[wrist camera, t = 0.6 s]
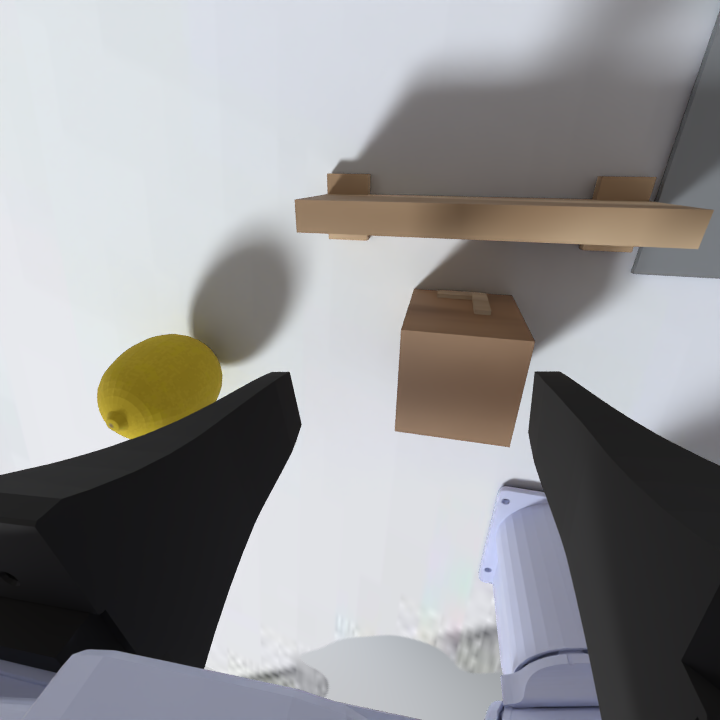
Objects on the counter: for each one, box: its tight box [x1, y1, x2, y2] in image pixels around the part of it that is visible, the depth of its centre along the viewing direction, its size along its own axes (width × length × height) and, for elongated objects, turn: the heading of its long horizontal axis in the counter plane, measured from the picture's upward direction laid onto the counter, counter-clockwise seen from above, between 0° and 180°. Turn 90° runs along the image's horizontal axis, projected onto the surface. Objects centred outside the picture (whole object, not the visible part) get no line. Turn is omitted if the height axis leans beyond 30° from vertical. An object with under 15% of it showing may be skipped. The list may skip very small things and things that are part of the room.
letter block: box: [395, 289, 535, 447], centre depth 18 cm, size 5×5×6 cm
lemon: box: [97, 334, 222, 439], centre depth 21 cm, size 6×6×8 cm
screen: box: [295, 174, 714, 252], centre depth 15 cm, size 3×14×5 cm, turn 91°
